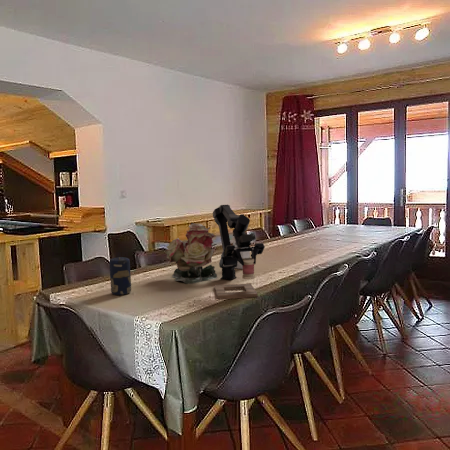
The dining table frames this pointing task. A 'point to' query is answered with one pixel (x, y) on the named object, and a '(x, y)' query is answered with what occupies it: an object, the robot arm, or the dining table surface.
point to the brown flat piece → (225, 295)
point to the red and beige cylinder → (248, 268)
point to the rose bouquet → (193, 255)
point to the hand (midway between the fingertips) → (249, 264)
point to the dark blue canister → (120, 275)
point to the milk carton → (243, 255)
